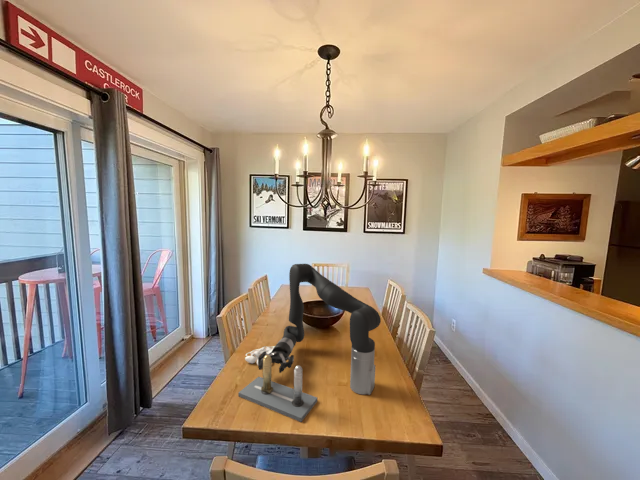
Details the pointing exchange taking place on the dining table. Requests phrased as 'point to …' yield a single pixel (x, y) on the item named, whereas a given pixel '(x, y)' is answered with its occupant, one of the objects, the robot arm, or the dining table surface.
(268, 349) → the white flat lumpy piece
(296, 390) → the fixed leg
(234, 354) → the dining table surface
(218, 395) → the dining table surface
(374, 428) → the dining table surface
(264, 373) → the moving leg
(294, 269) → the robot arm
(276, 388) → the board
